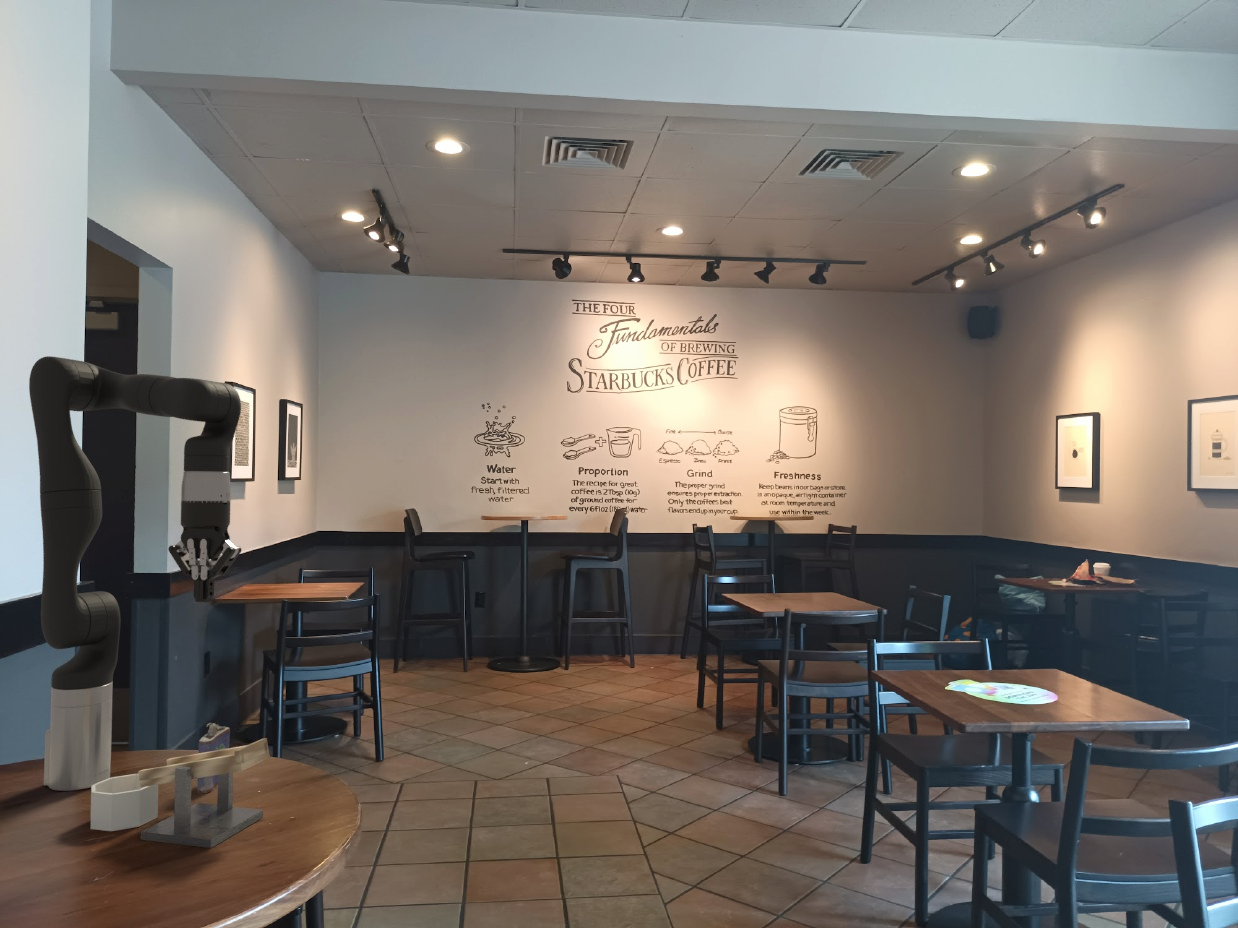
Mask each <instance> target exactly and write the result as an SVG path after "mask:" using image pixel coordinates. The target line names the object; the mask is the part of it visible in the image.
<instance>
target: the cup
mask: <svg viewBox="0 0 1238 928" xmlns="http://www.w3.org/2000/svg"><path fill="white" fill-rule="evenodd" d="M159 785H160V784H158V785H152V786H146V787H140V780H139V774H138V773H132V774H126V775H119V776H110V778H108V779H106V780H103V781H101V782H98V783H96V784H93V785H91V787H90V791H91V792H90V818H89V819H90V830H97V831H98V830H99V831H105V832H115V831H121V830H127V829H132V828H133V829H134V828H137V827H141V826H143V825H145V824H147V823H149V822H151V821H153V820H155V819H157V818H159V817H158V815H159Z"/></svg>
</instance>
